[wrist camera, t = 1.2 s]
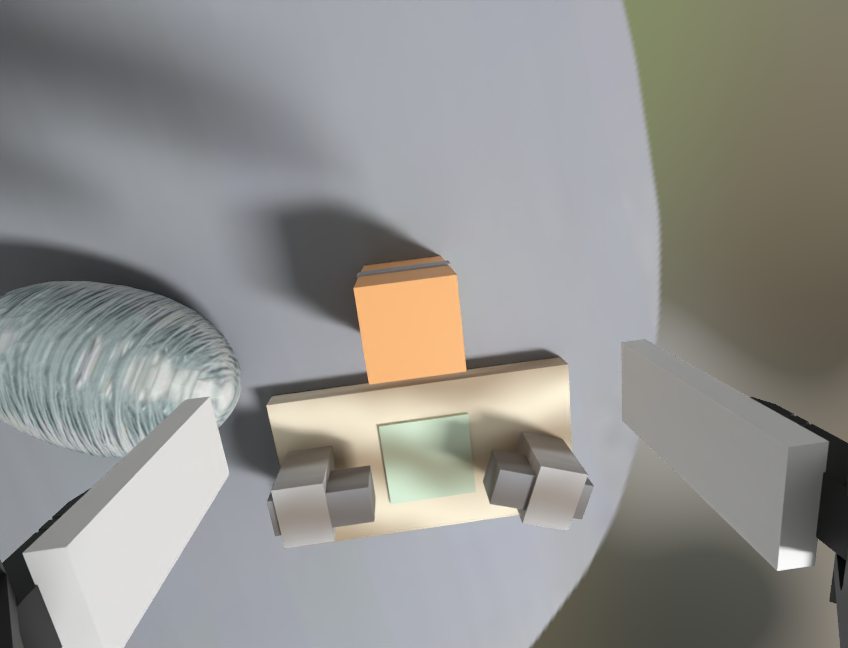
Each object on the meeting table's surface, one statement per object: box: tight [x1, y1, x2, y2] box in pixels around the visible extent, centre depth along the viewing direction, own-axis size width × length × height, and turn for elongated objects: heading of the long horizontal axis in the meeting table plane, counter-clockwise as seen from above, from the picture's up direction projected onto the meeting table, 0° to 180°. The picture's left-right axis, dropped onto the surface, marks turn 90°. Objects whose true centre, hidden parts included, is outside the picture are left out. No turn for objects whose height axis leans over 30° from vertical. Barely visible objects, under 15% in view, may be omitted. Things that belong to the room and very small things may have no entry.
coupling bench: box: [266, 357, 594, 548], centre depth 31 cm, size 11×20×6 cm, turn 97°
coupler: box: [353, 256, 467, 385], centre depth 27 cm, size 5×5×8 cm
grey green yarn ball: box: [0, 281, 241, 458], centre depth 27 cm, size 14×10×10 cm
